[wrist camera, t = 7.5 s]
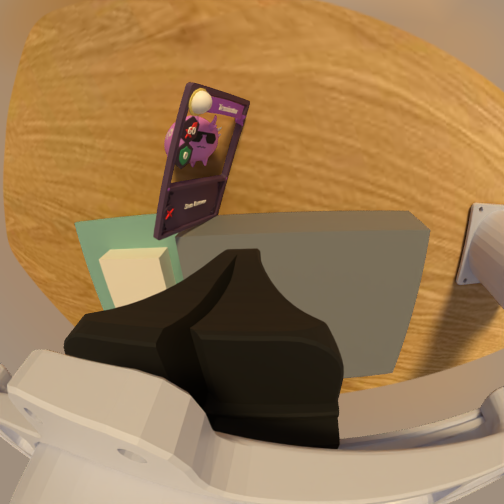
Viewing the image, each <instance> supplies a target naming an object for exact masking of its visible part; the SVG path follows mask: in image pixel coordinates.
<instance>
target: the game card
mask: <svg viewBox="0 0 504 504" xmlns="http://www.w3.org/2000/svg"><path fill="white" fill-rule="evenodd" d="M193 91H194V92H193ZM211 96H213V97H211ZM216 97H217V98H216ZM249 105H250V101H248V100H245V99H243V98H240V97H237V96H234V95H231V94H228V93H225V92H222V91H219V90H216V89H213V88H210V87H207V86H204V85H200V84H197V83H192V82H189V83H187V84H186V87H185V90H184V93H183V97H182V101H181V104H180V108H179V112H178V115H177V119H176V122H175V123H174V124H173V125H172V126H171V127H170V129H169V131H168V132H167V135H166V138H165V151H166V154H167V162H166V166H165V171H164V176H163V181H162V186H161V192H160V197H159V203H158V209H157V215H156V221H155V227H154V234H153V237H154V238H155V239H157V240H162V239H164V238H167V237H169V236H172V235H174V234H176V233H179V232H181V231H184V230H186V229H189V228H191V227H193V226H196V225H198V224H201V223H203V222H206V221H208V220H211V219H212V218H214V217H216V216H217V215H218V212H219V208H220V204H221V201H222V197H223V193H224V190H225V186H226V182H227V179H228V175H229V172H230V168H231V165H232V161H233V158H234V154H235V151H236V147H237V144H238V141H239V137H240V134H241V131H242V127H243V124H244V121H245V118H246V114H247V111H248V108H249ZM188 109H189V111H190V113H191V114H192V115H193V116H187V113H188ZM205 112H210V113H217V114H223V115H227V116H231V117H234V118H236V119H235V122H236V125H235V129H234V132H233V136H232V139H231V142H230V146H229V149H228V153H227V156H226V160H225V163H224V167H223V171H222V174H221V175H217V176H210V177H204V178H198V179H192V180H186V181H180V182H175V183H171V179H172V175H173V170H174V165H175V164H176V165H177V166H178V167H179V168H180V169H182V168H183V167H184V166H185V165H187V164H188V163H191V166H192V167H194V166H195V162H196V161H200V160H201V161H202V162H203V164H204V165H205V166H206V164H207V160H208V157H209V156H210V155H211V154H212V153H213V152H214V151H215V149H216V147H217V144H218V138H219V136H220V135H221V134H218V131H220V130H221V128H222V127H220V128H218V129H217V128H216V127H217V125H215V123H216V120H217V116H216V115H215V117H214V119H213V121H212V122H211V123H210V122H208V121H207V120H206V119H204V118H202V117H199V115H201V114H203V113H205ZM186 116H187V117H186Z"/></svg>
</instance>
